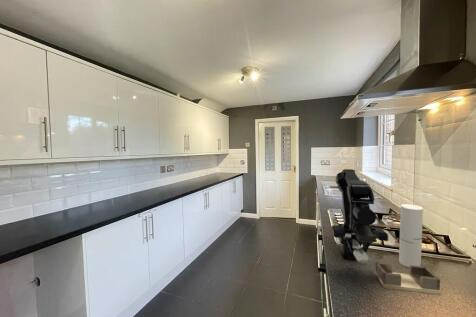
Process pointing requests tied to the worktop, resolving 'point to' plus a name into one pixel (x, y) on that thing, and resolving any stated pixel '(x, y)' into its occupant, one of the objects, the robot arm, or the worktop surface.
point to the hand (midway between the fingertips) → (357, 253)
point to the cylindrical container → (410, 235)
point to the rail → (360, 253)
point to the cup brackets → (416, 272)
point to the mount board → (408, 284)
